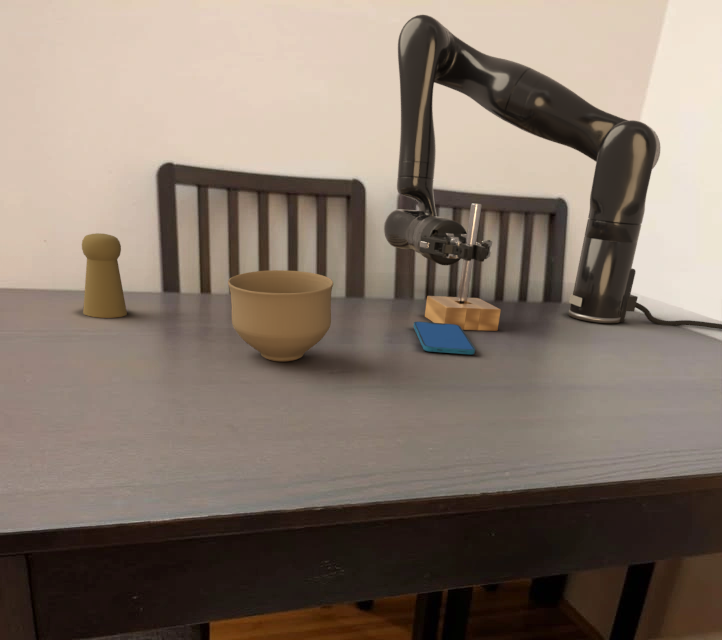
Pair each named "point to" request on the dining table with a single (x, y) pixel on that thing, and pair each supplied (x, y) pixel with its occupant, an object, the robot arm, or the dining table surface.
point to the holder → (463, 313)
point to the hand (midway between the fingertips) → (476, 254)
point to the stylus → (472, 242)
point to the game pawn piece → (103, 277)
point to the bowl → (281, 311)
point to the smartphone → (443, 338)
